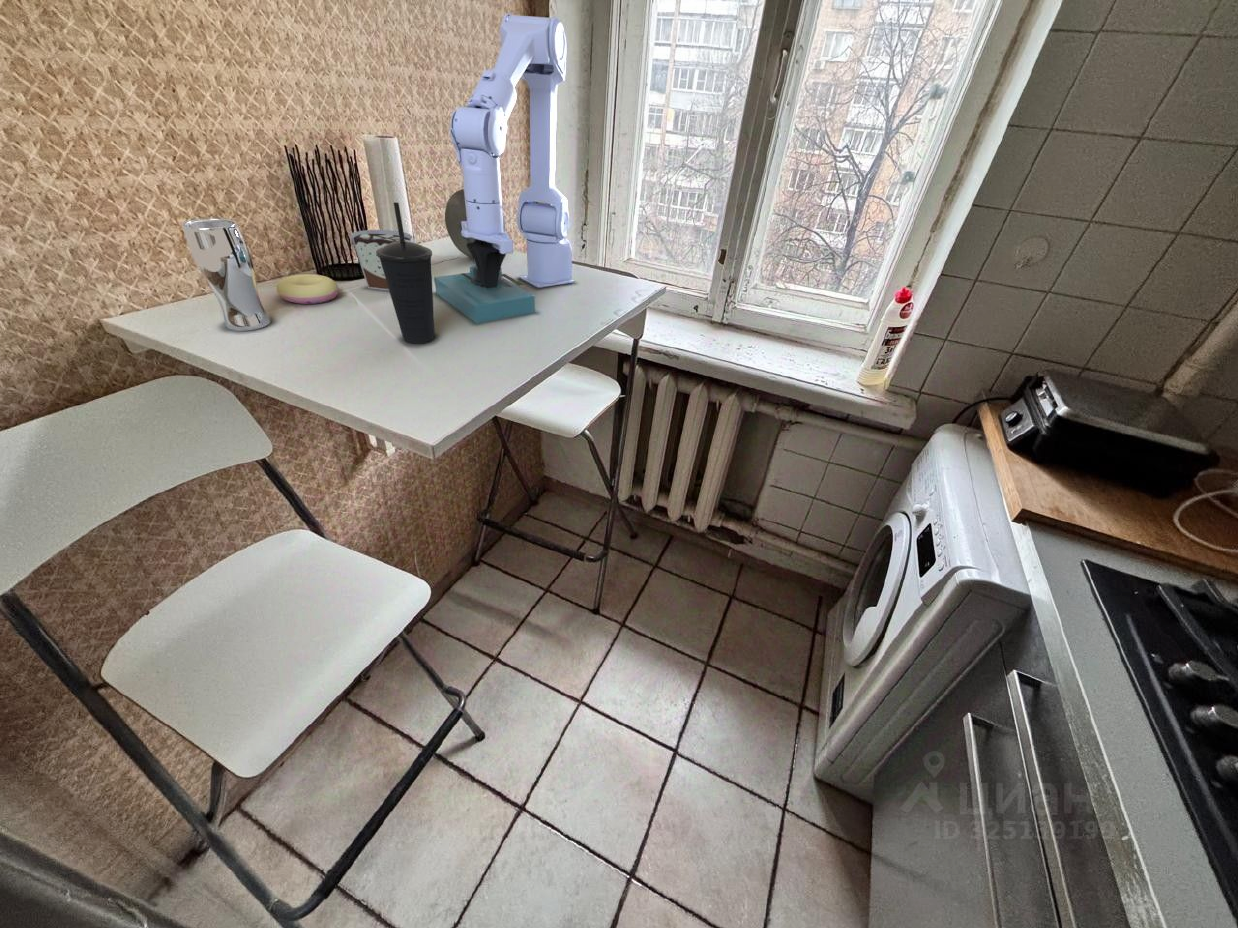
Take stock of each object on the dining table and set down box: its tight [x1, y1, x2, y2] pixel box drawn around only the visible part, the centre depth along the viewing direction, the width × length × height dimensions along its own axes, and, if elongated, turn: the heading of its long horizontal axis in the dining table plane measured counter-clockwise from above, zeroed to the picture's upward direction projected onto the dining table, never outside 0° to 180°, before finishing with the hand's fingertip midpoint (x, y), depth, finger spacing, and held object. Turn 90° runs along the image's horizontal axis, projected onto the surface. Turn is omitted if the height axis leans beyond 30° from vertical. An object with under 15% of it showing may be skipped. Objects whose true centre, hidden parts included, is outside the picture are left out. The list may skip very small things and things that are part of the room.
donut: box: [275, 273, 339, 305], centre depth 89 cm, size 10×5×9 cm
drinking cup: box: [376, 202, 436, 346], centre depth 74 cm, size 8×8×20 cm
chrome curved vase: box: [180, 218, 271, 332], centre depth 74 cm, size 7×7×15 cm
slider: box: [471, 268, 483, 286], centre depth 87 cm, size 3×2×3 cm
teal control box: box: [433, 264, 536, 324], centre depth 94 cm, size 12×18×5 cm
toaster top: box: [454, 272, 524, 287], centre depth 91 cm, size 9×10×1 cm
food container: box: [350, 229, 416, 291], centre depth 96 cm, size 12×6×10 cm, turn 85°
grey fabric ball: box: [444, 188, 506, 260], centre depth 115 cm, size 14×14×15 cm
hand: (490, 286), depth 86 cm, fingers closed
